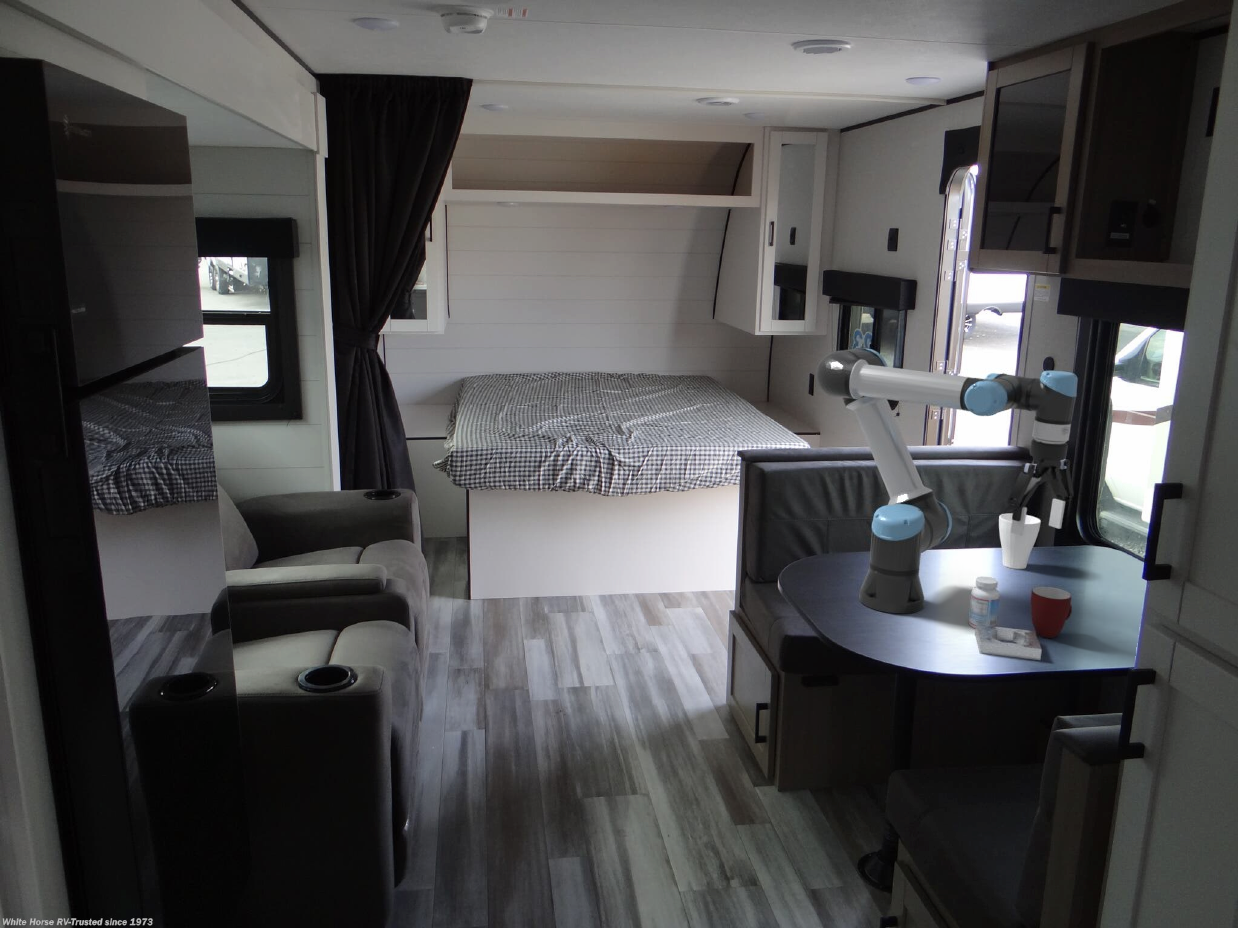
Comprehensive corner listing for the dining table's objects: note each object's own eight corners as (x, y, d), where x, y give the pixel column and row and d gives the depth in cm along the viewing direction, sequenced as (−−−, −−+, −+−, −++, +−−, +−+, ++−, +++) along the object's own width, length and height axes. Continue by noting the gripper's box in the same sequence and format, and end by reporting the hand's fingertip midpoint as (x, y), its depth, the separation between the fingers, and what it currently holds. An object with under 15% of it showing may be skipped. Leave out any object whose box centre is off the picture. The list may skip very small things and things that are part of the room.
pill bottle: (989, 621, 214) (994, 575, 212) (1000, 631, 209) (1006, 584, 206) (963, 620, 214) (968, 575, 212) (974, 631, 208) (979, 584, 206)
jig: (979, 652, 197) (980, 641, 196) (975, 634, 206) (976, 624, 206) (1040, 660, 194) (1041, 649, 193) (1033, 641, 203) (1034, 631, 203)
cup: (1037, 564, 256) (1043, 517, 253) (1031, 574, 247) (1037, 526, 244) (997, 557, 261) (1003, 511, 258) (990, 567, 252) (995, 519, 249)
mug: (1047, 623, 214) (1052, 582, 212) (1080, 635, 207) (1086, 593, 205) (1019, 631, 208) (1024, 590, 206) (1051, 644, 202) (1057, 601, 200)
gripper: (1028, 448, 198) (1014, 542, 203) (1099, 439, 210) (1084, 528, 215) (999, 440, 204) (986, 532, 209) (1069, 433, 217) (1055, 519, 222)
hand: (1035, 530), depth 212 cm, fingers open, 13 cm apart
